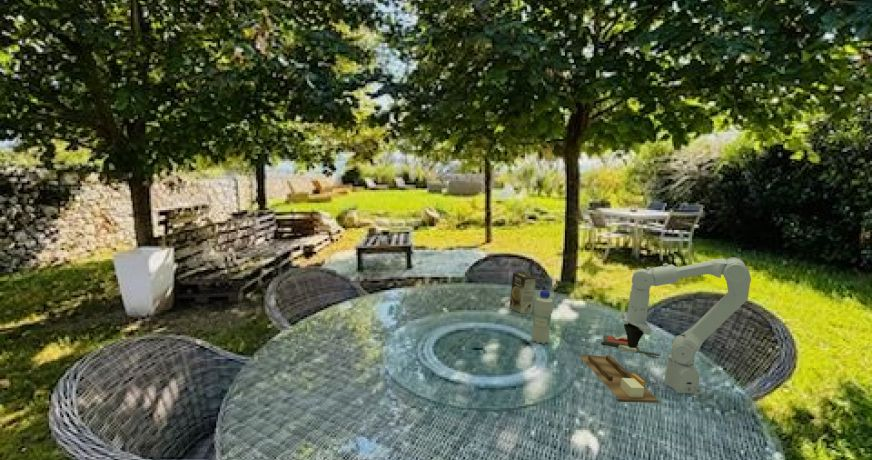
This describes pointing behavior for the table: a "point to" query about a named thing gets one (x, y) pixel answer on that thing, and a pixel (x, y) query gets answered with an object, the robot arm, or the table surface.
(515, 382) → the table surface
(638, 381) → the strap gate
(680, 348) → the robot arm
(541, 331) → the bottle
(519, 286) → the coffee box
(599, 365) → the cradle
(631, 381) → the plug
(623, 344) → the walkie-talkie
